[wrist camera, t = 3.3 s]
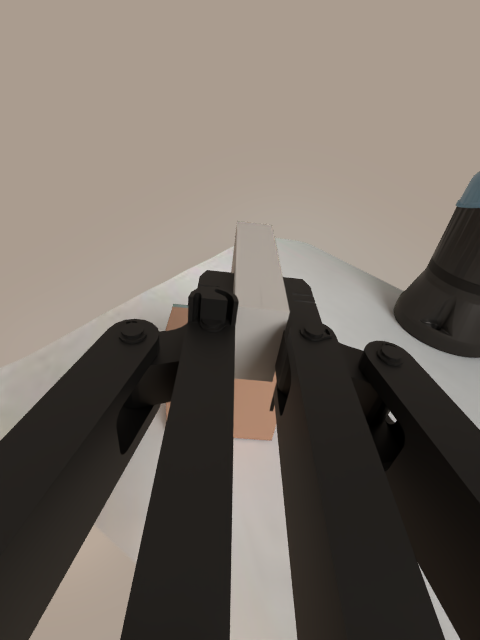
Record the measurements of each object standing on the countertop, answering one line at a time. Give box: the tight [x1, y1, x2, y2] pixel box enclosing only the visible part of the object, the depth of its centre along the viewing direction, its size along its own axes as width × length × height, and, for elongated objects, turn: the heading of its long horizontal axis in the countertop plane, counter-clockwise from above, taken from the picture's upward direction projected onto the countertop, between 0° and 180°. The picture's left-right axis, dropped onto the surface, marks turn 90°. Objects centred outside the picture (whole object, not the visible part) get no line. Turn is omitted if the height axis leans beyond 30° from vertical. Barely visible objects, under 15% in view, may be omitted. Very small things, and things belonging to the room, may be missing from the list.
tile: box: [166, 304, 277, 440], centre depth 30 cm, size 4×10×12 cm, turn 90°
